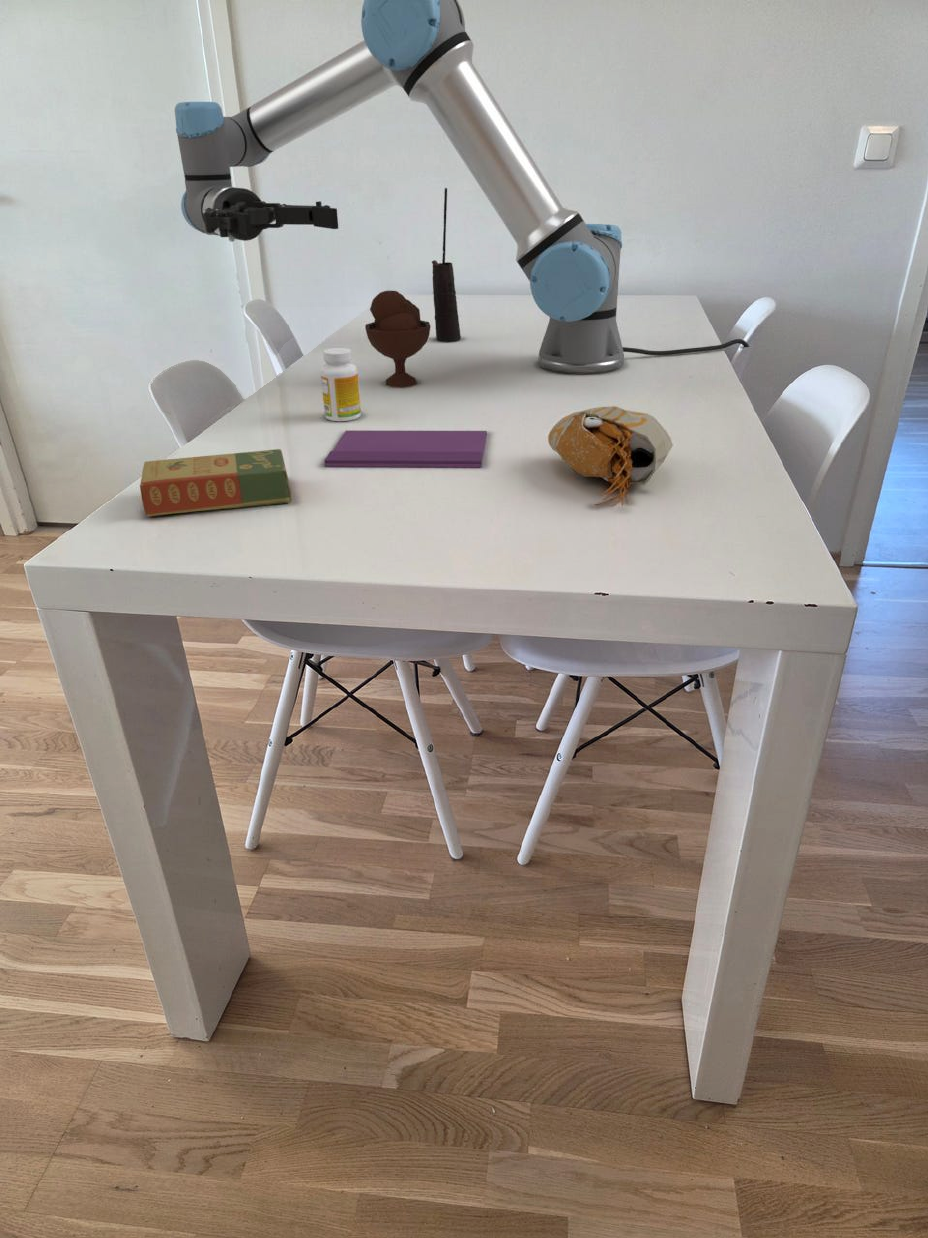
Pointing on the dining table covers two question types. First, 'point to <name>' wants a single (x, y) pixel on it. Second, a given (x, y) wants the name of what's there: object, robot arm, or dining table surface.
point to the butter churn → (445, 295)
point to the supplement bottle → (340, 386)
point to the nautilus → (612, 445)
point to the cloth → (408, 449)
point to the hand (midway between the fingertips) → (293, 221)
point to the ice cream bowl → (397, 333)
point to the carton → (214, 482)
